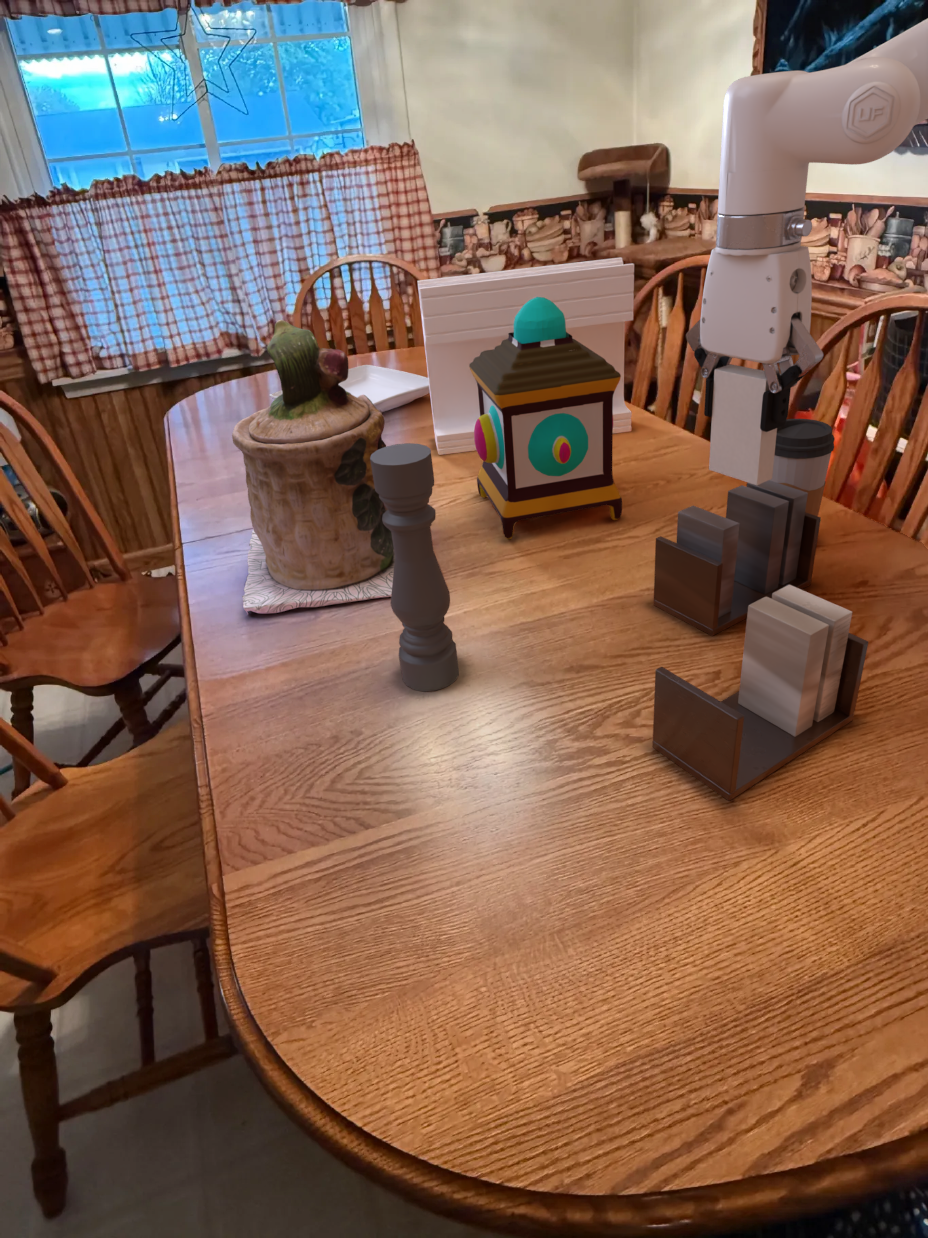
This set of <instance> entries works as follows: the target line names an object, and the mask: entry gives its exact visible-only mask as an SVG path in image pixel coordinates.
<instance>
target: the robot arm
mask: <svg viewBox="0 0 928 1238" xmlns="http://www.w3.org/2000/svg"><path fill="white" fill-rule="evenodd" d="M926 120H928V18H926V19H924V20H922V21H921V22H919V23H917V24H915V25H913V26H912V27H910V28H908V29H906V30H904V31H902V32H901V33H899V34H898V35H896V36H894V37H892V38H891V39H888V40H887V41H885V42H884V43H882V44H880V45H878V46H876V47H875V48H873V49H871V50H869V51H868V52H866V53H864V54H862V55H860V56H858V57H856V58H855V59H853V60H851V61H849V62H848V63H845V64H843V65H839V66H835V67H830V68H826V69H823V70H822V69H821V70H818V71H812V72H809V71H805V70H788V71H786V70H785V71H777V72H776V71H775V72H769V73H761V74H760V73H759V74H754V75H747V76H744V77H741V78H740V77H739V78H738V79H736V80H734V81H733V82H732V83H731V84H730V85H728V88H727V90H726V92H725V94H724V98H723V107H722V121H721V122H722V124H721V125H722V126H721V141H720V142H721V143H720V145H721V146H720V160H719V161H720V162H719V179H718V198H717V216H716V236H715V247H714V248H712V249H711V251H710V256H709V259H708V264H707V269H706V274H705V280H704V286H703V291H702V299H701V309H700V319H699V320H698V321H697V322H695V324H694V325H693V326H692V327H691V328H690V329H689V330H688V331H687V332H686V334H685V340H686V342H687V343H688V345H689V347H690V348H691V351H692V352H693V355H694V359H695V361H696V363H698V365H699V367H700V368H701V369H700V375H701V377H702V378H703V379H705V392H704V410H703V415H704V416H705V417H707V418H712V406H713V388H714V370H715V369H717V368H720V367H723V366H726V365H729V364H731V362H732V360H733V359H737V360H744V361H747V362H748V361H749V362H754V363H760V364H762V368H763V371H764V372H765V375H766V379H767V383H768V386H769V391H766V392H764V394H763V400H762V411H761V423H760V429H761V430H762V431H764V432H768V431H771V430H773V429H776V428H779V427H781V426H784V425H785V423H786V419H788V417H789V407H790V398H791V390H792V388H794V387H796V386H797V385H798V382H799V381H801V380H802V379H803V378H804V377H805V376H807V375H808V374H809V371H811V370H812V369H814V367H815V366H816V365H817V364H819V362H821V361H822V360H823V358H824V352H823V350H822V349H821V348H820V346H819V345H818V343H817V341H816V340H815V339H814V337H813V335H811V324H812V323H811V322H812V304H813V303H812V302H813V300H812V299H813V291H812V290H813V287H812V286H813V283H812V282H813V281H812V266H811V265H812V264H811V256H810V249H809V246H807V245H806V246H805V245H802V238H803V237H809V235H810V234H811V232H812V229H813V222H812V220H810V219H806V218H805V206H806V205H805V203H806V193H807V185H808V173H809V166H810V164H811V163H812V164H813V163H815V164H834V165H864V164H868V163H872V162H875V161H878V160H880V159H882V158H884V157H886V156H887V155H889V154H891V153H892V152H893V151H895V150H896V149H897V148H898V147H899V146H900V145H901V144H902V143H903V142H904V141H905V140H906V138H907V137H908V136H909V135H910V133H911V131H912V130H913V128H914V126H916V125H918V124H921V123H922V122H924V121H926ZM792 356H798V359H796V361H795V363H794V361H793V357H792ZM779 369H780V370H779ZM780 374H781V375H780Z"/></svg>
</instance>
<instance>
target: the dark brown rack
mask: <svg viewBox="0 0 928 1238" xmlns="http://www.w3.org/2000/svg"><path fill="white" fill-rule="evenodd" d="M852 617H853V611H852V610H850V609H848V608H845V607H843V606H840V605H838V604H835V603H833V602H831V601H829V600H826V599H824V598H822V597H820V596H817V595H815V594H813V593H810V592H807V591H806V590H804V589H802V590H801V589H799V588H796V587H794V586H792V585H788V586H786V587H784V588H782V589H780V590H778V591H776V592H774V593H773V594H772V599H771V598H769V597H764V598H762V599H760V600H758V601H756V602H754V603H752V604H750V605H749V606H748V614H747V618H746V624H745V635H744V642H743V643H744V644H743V654H742V660H741V661H742V662H741V669H740V671H741V672H740V681H739V689H738V691H736V692H735V693H733V694H732V695H729V696H728V697H726V698H724V699H722V700H721V701H720V700H719V699H717V698H716V697H714V696H712V695H711V694H708V693H707V692H705V691H703V690H702V689H700V688H699V687H697V686H695V685H694V684H692V683H690V682H689V681H687V680H685V679H683V678H682V677H680V676H679V675H677V674H675V673H674V672H672V671H670V670H668V669H667V668H665V667H663V666H660V667H657V668H656V669H655V671H654V674H655V675H654V695H653V696H654V697H653V703H654V704H653V724H652V743H651V744H652V745H651V746H652V749H654V750H656V751H657V752H659V754H662V755H663V756H664V757H665V758H667V759H668V760H670V761H672V762H673V763H674V764H676V765H677V766H678V767H680V768H681V769H683V770H684V771H685V772H687V773H689V775H691V776H693V777H694V778H695V779H697V780H698V781H700V782H701V783H702V784H704V785H706V786H707V787H708V788H709V789H711V790H712V791H714V792H715V793H717V794H718V795H719V796H721V797H723V799H725V800H726V801H728V802H730V801H732V800H733V799H734V798H736V797H738V796H739V795H740V794H742V793H744V792H745V791H747V790H748V789H750V788H752V787H753V786H754V785H756V784H757V783H759V782H761V781H762V780H763V779H766V778H768V776H770V775H772V774H773V773H774V772H776V771H778V770H779V769H781V768H782V767H783V766H785V765H787V764H788V763H789V762H791V761H793V760H794V759H796V758H797V757H799V756H800V755H803V754H804V753H806V752H807V751H808V750H809V749H812V748H813V747H814V746H815V745H817V744H819V743H820V742H821V741H823V740H825V739H826V738H828V737H829V736H831V735H832V734H834V733H835V732H837V731H839V730H840V729H841V728H843V727H845V726H847V724H849V723H851V722H852V721H853V720H854V717H855V711H856V706H857V701H858V697H859V692H860V687H861V681H862V677H863V672H864V667H865V661H866V656H867V652H868V647H869V641H868V640H866V639H864V638H861V637H859V636H857V635H855V634H853V633H851V632H850V627H851V623H852Z"/></svg>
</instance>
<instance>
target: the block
mask: <svg viewBox="0 0 928 1238" xmlns="http://www.w3.org/2000/svg"><path fill="white" fill-rule="evenodd" d="M417 290H418V291H417V292H418V299H419V307H420V315H421V316H420V317H421V325H422V334H423V343H424V352H425V358H426V359H425V361H426V370H427V378H428V380H429V389H430V393H429V396H430V405H431V414H432V423H433V432H434V442H435V445H436V450H437V454H438V456H440V455H443V456H444V455H449V454H457V453H466V452H473V451H474V452H475V451H477V450H476V447H475V441H474V428H475V424H476V421H477V419H478V418H479V417H480V408H479V396H478V386H477V382H476V380H475V378H474V376H473V375H472V373H471V371H470V367H469V364H470V363H471V362H473V360H474V358H475V357H478V356H480V354H481V352H483V351H486V350H493V349H495V347H496V346H498V345H501V343H502V341H503V340H505V339H508V337H509V335H508V333H512V332H514V320H515V316H516V315H517V313H518V312H519V311H520V309H521V308H522V307H523V305H524V304H526V303H527V302H528V301H529V300H531V299H533V298H536V297H544V298H546V299H548V300H550V301H552V302H553V303H554V304H555V305H556V306H557V307H558V308H559V309H560V310H561V311H562V312H563V314H564V317H565V324H566V332H567V333H568V334H570V335H571V336H572V338H573V339H575V340H576V341H578V342H580V343H581V344H583V345H584V346H586V347H587V348H589V349H590V350H592V351H593V352H595V353H596V354H598V355H599V356H601V357H602V358H604V359H605V360H606V362H608V363H609V364H611V365H612V366H613V367H614V368H615V370H616V371H617V372H619V373H620V375H621V378H620V381H619V383H618V385H617V387H616V389H615V391H614V394H613V434H620V433H627V432H632V415H633V414H632V413H633V412H632V411H631V410H630V408H628V407H627V405H626V402H625V329H626V328H625V327H626V326H625V324H626V322H631V321H634V307H635V305H634V304H635V303H634V302H635V301H634V300H635V298H634V297H635V294H634V291H635V263H632V262H631V263H625V264H624V261H623V257H612V258H604V259H603V258H602V259H596V260H587V261H579V262H569V263H561V264H551V265H543V266H536V267H534V266H533V267H526V268H515V269H508V270H499V271H490V272H482V273H473V274H463V275H456V276H455V275H454V276H446V277H445V276H444V277H438V278H429V279H421V280H417Z"/></svg>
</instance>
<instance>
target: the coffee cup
mask: <svg viewBox="0 0 928 1238" xmlns="http://www.w3.org/2000/svg"><path fill="white" fill-rule="evenodd" d="M834 450H835V436H834V434H833V428H832V426H831V425H830V424H828V423H826V422H824V421H821V420H817V419H810V418H787V419H786V423H785V425H784V426H781V427H779V428H777V434H776V444H775V454H774V464H773V474H772V479H770V481H773V482H776V483H779V484H782V485H785V486H788V487H791V488H795V489H798V490H801V491H804V492H807V493H808V495H807V502H806V510H805V512H806V513H809V514H812V515H815V516H818V517H819V513H820V509H821V505H822V499H823V495H824V491H825V487H826V480H827V479H826V478H827V476H828V475H827V474H828V469H829V465H830V461H831V456H832V452H834Z"/></svg>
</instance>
